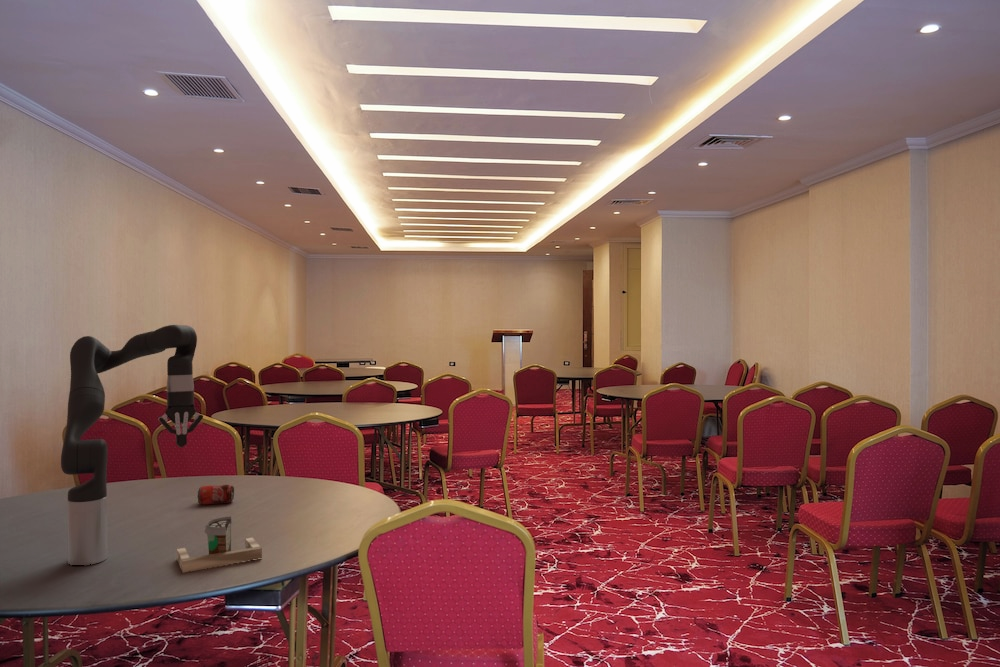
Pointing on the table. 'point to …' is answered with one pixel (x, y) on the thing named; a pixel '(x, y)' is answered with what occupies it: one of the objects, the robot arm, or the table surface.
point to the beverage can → (215, 494)
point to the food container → (219, 535)
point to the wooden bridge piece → (219, 557)
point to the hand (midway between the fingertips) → (181, 446)
